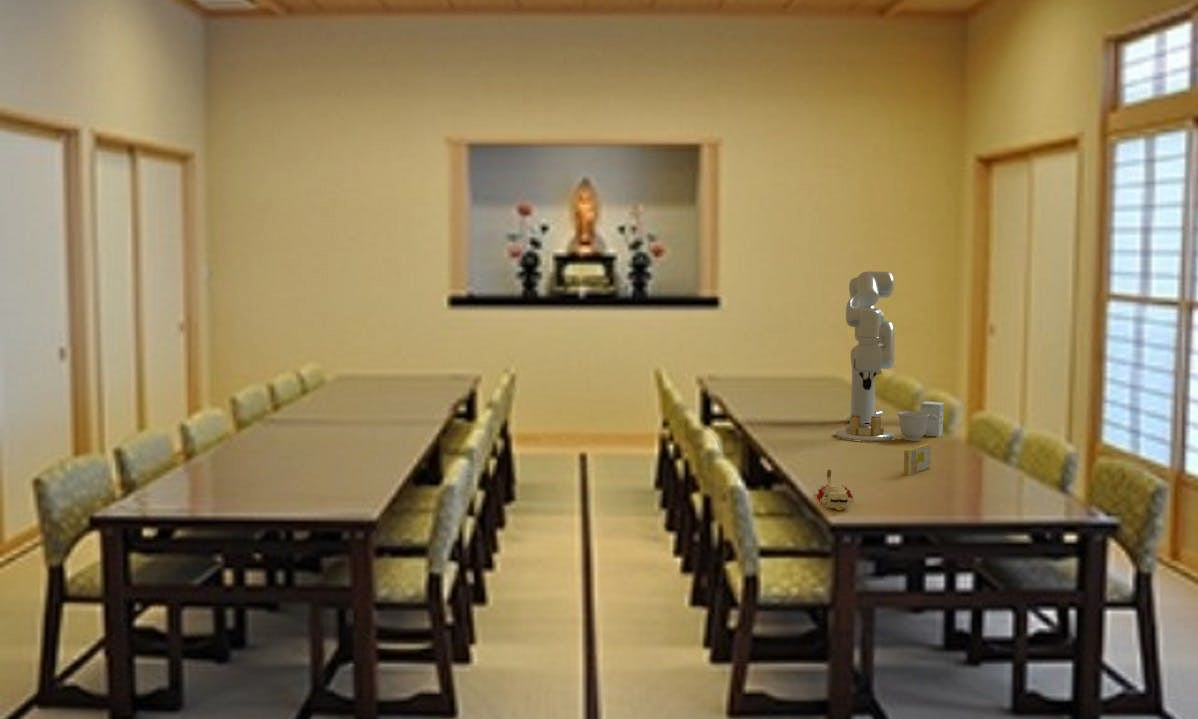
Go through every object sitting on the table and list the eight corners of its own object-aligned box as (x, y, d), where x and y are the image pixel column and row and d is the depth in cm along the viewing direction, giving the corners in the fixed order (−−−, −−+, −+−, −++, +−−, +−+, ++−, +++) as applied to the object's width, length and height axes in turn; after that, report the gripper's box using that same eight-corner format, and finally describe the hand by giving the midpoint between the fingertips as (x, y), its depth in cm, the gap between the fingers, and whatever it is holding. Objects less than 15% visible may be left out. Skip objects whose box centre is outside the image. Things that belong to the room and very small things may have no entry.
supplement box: (919, 435, 481) (920, 403, 479) (923, 432, 487) (925, 400, 486) (938, 437, 477) (940, 404, 476) (943, 434, 484) (944, 402, 482)
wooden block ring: (865, 428, 484) (866, 413, 484) (891, 433, 472) (892, 418, 472) (838, 431, 477) (839, 416, 476) (864, 436, 465) (864, 420, 465)
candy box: (924, 468, 413) (925, 443, 412) (930, 468, 412) (931, 444, 411) (902, 474, 401) (903, 449, 400) (908, 475, 399) (909, 450, 399)
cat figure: (810, 498, 369) (821, 509, 344) (811, 468, 369) (821, 478, 344) (844, 499, 369) (857, 510, 344) (845, 469, 369) (858, 479, 344)
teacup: (938, 443, 462) (939, 416, 461) (896, 441, 465) (897, 415, 464) (936, 438, 474) (937, 412, 473) (895, 436, 477) (896, 410, 476)
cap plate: (865, 430, 490) (866, 420, 490) (906, 439, 471) (907, 428, 471) (823, 435, 478) (823, 424, 478) (863, 443, 460) (864, 432, 459)
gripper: (884, 341, 481) (883, 388, 482) (846, 340, 480) (845, 388, 481) (890, 342, 473) (888, 390, 475) (851, 342, 472) (850, 390, 474)
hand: (866, 389), depth 478 cm, fingers closed
